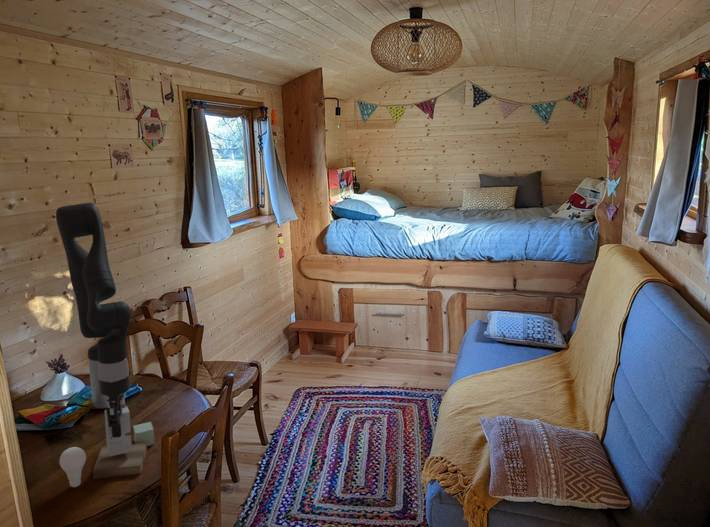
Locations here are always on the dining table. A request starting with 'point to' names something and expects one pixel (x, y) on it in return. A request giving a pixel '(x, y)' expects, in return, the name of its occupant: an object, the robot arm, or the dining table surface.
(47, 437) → the dining table surface
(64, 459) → the lightbulb
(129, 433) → the skincare box
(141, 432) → the sage block
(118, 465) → the beige flat slab
